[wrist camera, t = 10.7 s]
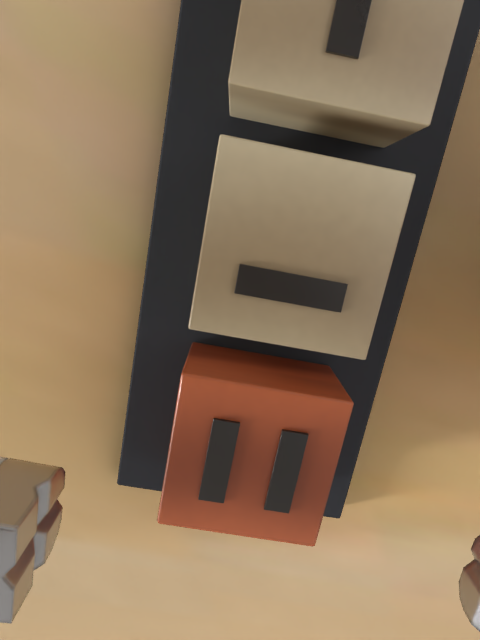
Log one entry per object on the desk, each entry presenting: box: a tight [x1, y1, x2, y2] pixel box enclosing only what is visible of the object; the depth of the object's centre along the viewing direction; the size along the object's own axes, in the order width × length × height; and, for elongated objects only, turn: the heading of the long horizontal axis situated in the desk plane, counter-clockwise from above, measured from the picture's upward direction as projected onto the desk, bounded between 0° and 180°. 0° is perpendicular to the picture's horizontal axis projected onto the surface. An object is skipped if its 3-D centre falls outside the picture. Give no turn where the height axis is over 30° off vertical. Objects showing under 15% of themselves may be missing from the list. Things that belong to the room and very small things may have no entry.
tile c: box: [228, 0, 464, 148], centre depth 10 cm, size 4×4×3 cm
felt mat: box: [117, 0, 480, 518], centre depth 13 cm, size 17×8×1 cm, turn 170°
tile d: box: [188, 134, 416, 360], centre depth 11 cm, size 4×4×3 cm
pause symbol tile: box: [157, 342, 354, 546], centre depth 12 cm, size 4×4×3 cm
